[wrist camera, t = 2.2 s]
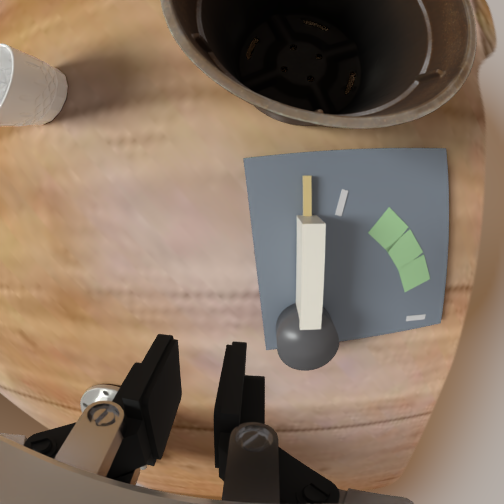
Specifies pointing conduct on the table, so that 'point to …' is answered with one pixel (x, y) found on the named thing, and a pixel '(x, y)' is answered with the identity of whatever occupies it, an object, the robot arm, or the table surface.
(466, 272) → the table surface
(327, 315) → the peg dial
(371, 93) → the plant pot
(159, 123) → the table surface
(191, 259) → the table surface
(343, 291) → the board
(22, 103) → the white cup
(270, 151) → the table surface
